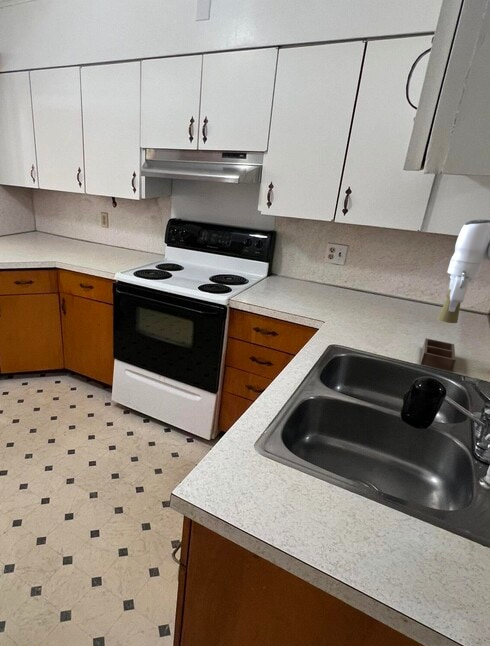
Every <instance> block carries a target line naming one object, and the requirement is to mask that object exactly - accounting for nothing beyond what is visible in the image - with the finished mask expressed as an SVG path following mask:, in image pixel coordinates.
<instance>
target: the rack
mask: <svg viewBox="0 0 490 646" xmlns="http://www.w3.org/2000/svg"><path fill="white" fill-rule="evenodd" d="M455 363H456V350H455V344H454V343H451V342H447V341H442V340H441V341H440V340H436V339H431V338H424V342H423V345H422V348H421V357H420V366H425V367H429V368H433V369H437V370H442V371H446V372H450V373H452V372H453V369H454V366H455Z"/></svg>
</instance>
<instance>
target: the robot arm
mask: <svg viewBox="0 0 490 646" xmlns="http://www.w3.org/2000/svg"><path fill="white" fill-rule="evenodd" d="M449 261H450V262H449V264H448V267H447V271H446V273H447V274H449V275H450V276H449V278H450V280H449V286H448V290H450V289H451V292H450V301H451V303H450V306H449V311H451V312H454V311H455V309H456V306H457V305H458V303H461V304H463V302H464V300H465V297H466V295H467V292H468V288H469V282H472V281H473V279H475V278H478V277H479V275H480V273H481V269H482V266H483V264H484V261H490V219H474V220H468V221H467V222H466V223H464V224H463V226H462V227H461V229H460V231H459V234H458V236H457V239H456V242H455V244H454V253H453V255H452V256H451V258H450V260H449Z"/></svg>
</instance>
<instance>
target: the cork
mask: <svg viewBox="0 0 490 646" xmlns="http://www.w3.org/2000/svg"><path fill="white" fill-rule="evenodd" d="M450 292H451V289H450V290H449V289H448V290H447V291H446V299H445V301H444V304H443V306H442V308H441V310H440V312H439V314H438V316H437V320H438V321H440V322H443V323H449V324H458V322H459V315H460V309H461V304H462V303H458V305H457V306H456V309H455V311H454V312H451V311H449V306H450V303H451V301H450Z"/></svg>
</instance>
